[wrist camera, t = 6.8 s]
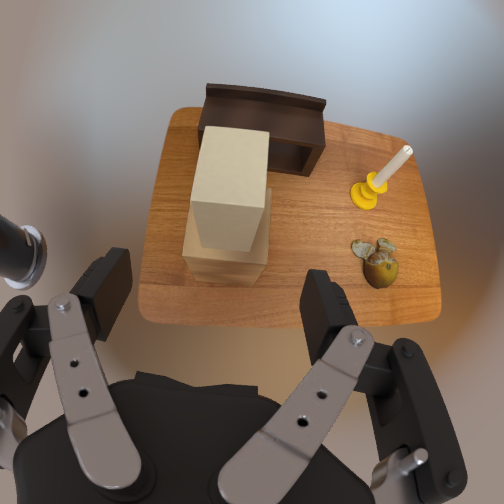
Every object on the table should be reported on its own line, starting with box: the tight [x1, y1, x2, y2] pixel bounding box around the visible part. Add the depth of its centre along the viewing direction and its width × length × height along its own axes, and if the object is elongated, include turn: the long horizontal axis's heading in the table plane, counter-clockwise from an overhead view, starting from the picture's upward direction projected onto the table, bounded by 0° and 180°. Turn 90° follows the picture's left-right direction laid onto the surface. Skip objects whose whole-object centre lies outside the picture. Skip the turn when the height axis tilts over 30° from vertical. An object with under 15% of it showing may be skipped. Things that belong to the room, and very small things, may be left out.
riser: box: [182, 188, 272, 287], centre depth 34 cm, size 8×8×14 cm
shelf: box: [197, 83, 326, 177], centre depth 41 cm, size 18×8×11 cm, turn 85°
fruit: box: [352, 238, 398, 289], centre depth 41 cm, size 8×8×4 cm
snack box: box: [190, 126, 269, 252], centre depth 22 cm, size 4×6×10 cm
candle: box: [350, 145, 413, 210], centre depth 38 cm, size 5×5×16 cm
